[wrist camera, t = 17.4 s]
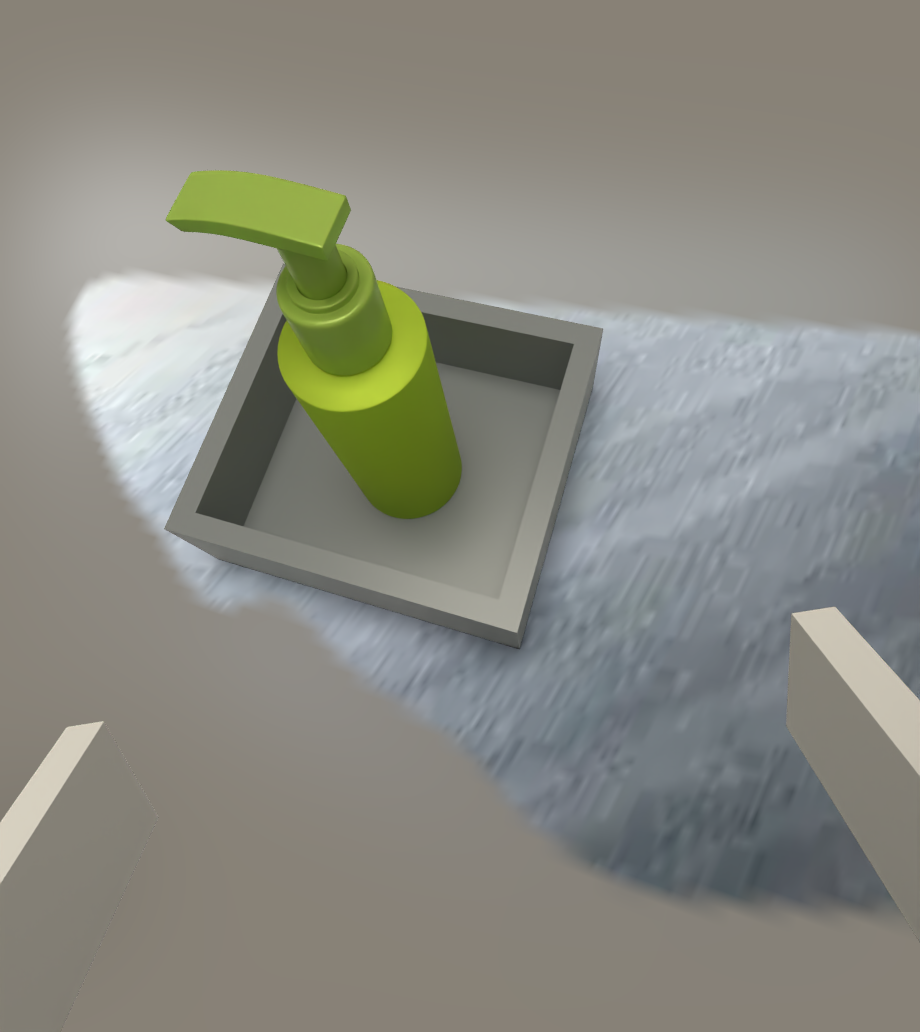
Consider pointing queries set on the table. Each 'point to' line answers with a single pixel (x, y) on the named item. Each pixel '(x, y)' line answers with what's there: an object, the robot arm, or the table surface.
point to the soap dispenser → (341, 338)
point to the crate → (377, 536)
